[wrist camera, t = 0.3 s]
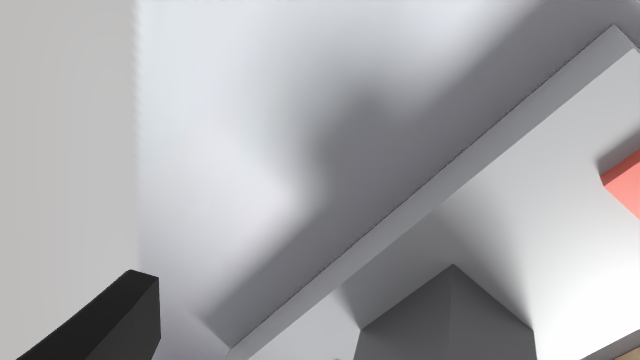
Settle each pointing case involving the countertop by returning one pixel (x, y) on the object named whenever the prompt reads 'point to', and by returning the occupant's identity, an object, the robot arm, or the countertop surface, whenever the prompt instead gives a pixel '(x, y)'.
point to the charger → (447, 325)
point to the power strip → (505, 225)
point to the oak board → (630, 355)
